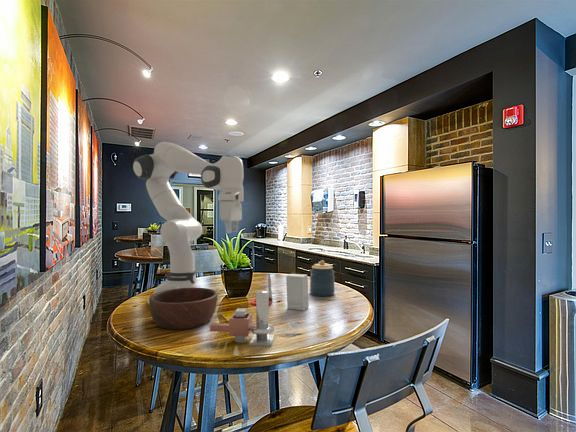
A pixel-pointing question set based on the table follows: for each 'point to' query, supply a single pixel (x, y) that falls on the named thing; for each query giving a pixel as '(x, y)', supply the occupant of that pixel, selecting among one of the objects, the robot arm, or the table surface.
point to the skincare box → (297, 291)
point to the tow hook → (268, 290)
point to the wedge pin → (240, 314)
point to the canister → (322, 280)
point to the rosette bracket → (245, 324)
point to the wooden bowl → (183, 307)
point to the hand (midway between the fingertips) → (232, 232)
